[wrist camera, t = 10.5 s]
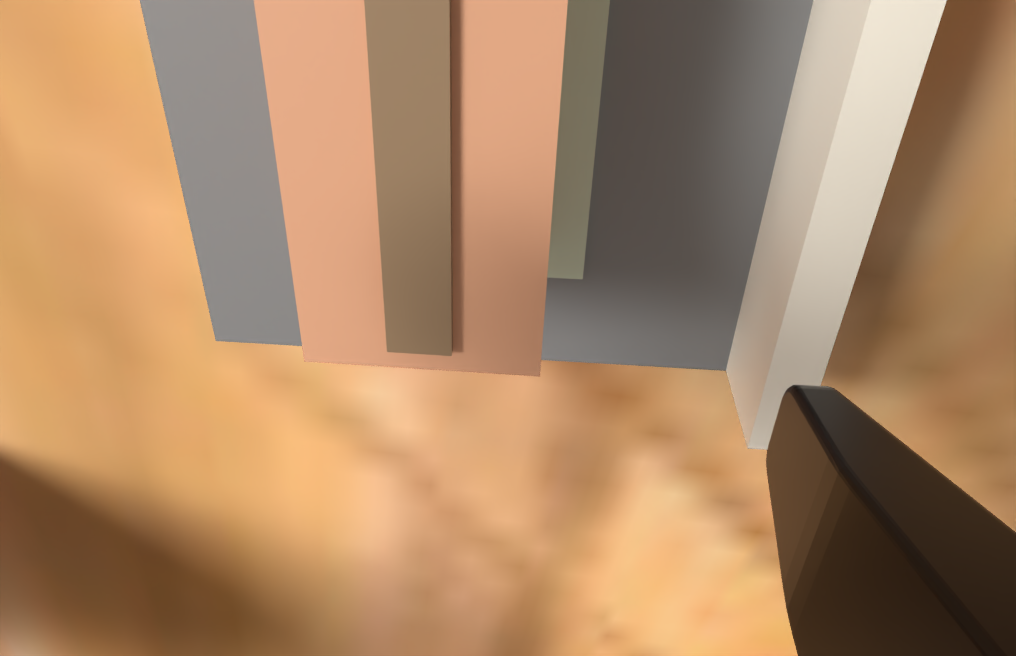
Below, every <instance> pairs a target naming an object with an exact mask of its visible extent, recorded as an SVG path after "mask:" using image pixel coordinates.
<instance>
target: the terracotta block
mask: <svg viewBox="0 0 1016 656" xmlns="http://www.w3.org/2000/svg"><path fill="white" fill-rule="evenodd" d="M567 5H568V0H254V6H255V13H256V20H257V27H258V35H259V42H260V49H261V56H262V63H263V70H264V77H265V85H266V92H267V99H268V106H269V113H270V120H271V127H272V134H273V142H274V149H275V156H276V163H277V170H278V177H279V184H280V192H281V199H282V206H283V213H284V220H285V227H286V234H287V242H288V249H289V256H290V263H291V270H292V277H293V284H294V292H295V299H296V306H297V313H298V320H299V327H300V334H301V342H302V349H303V356H304V362H320V363H336V364H351V365H367V366H383V367H399V368H414V369H430V370H446V371H461V372H477V373H493V374H509V375H524V376H540V368H541V354H542V341H543V327H544V314H545V301H546V287H547V274H548V260H549V247H550V234H551V220H552V207H553V193H554V180H555V166H556V153H557V140H558V126H559V113H560V99H561V86H562V72H563V59H564V46H565V32H566V19H567Z"/></svg>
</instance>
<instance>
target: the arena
mask: <svg viewBox="0 0 1016 656" xmlns="http://www.w3.org/2000/svg"><path fill="white" fill-rule="evenodd" d="M946 1H947V0H568V5H567V19H566V32H565V46H564V59H563V72H562V86H561V99H560V113H559V126H558V140H557V153H556V166H555V180H554V193H553V207H552V220H551V234H550V247H549V260H548V274H547V287H546V301H545V314H544V327H543V341H542V354H541V360H552V361H569V362H586V363H604V364H621V365H638V366H655V367H672V368H689V369H706V370H723V371H726V373H727V377H728V380H729V384H730V387H731V391H732V395H733V398H734V402H735V405H736V409H737V412H738V416H739V420H740V423H741V427H742V430H743V434H744V438H745V441H746V445H747V448H748V449H765V450H767V449H768V444H769V441H770V438H771V434H772V431H773V427H774V424H775V421H776V417H777V414H778V410H779V407H780V404H781V400H782V397H783V395H784V393H785V391H786V390H787V388H789V387H791V386H792V385H812V386H821V383H822V380H823V377H824V373H825V370H826V367H827V364H828V361H829V358H830V355H831V352H832V349H833V346H834V343H835V340H836V337H837V334H838V331H839V328H840V325H841V322H842V319H843V315H844V312H845V309H846V306H847V303H848V300H849V297H850V294H851V291H852V288H853V285H854V282H855V279H856V276H857V273H858V270H859V267H860V264H861V261H862V258H863V254H864V251H865V248H866V245H867V242H868V239H869V236H870V233H871V230H872V227H873V224H874V221H875V218H876V215H877V212H878V209H879V206H880V203H881V200H882V196H883V193H884V190H885V187H886V184H887V181H888V178H889V175H890V172H891V169H892V166H893V163H894V160H895V157H896V154H897V151H898V148H899V145H900V142H901V138H902V135H903V132H904V129H905V126H906V123H907V120H908V117H909V114H910V111H911V108H912V105H913V102H914V99H915V96H916V93H917V90H918V87H919V84H920V81H921V77H922V74H923V71H924V68H925V65H926V62H927V59H928V56H929V53H930V50H931V47H932V44H933V41H934V38H935V35H936V32H937V29H938V26H939V23H940V19H941V16H942V13H943V10H944V7H945V4H946ZM140 3H141V8H142V12H143V17H144V21H145V26H146V30H147V35H148V39H149V44H150V48H151V53H152V57H153V62H154V66H155V70H156V75H157V79H158V84H159V88H160V93H161V97H162V102H163V106H164V111H165V115H166V120H167V124H168V129H169V133H170V138H171V142H172V147H173V151H174V156H175V160H176V165H177V169H178V174H179V178H180V183H181V187H182V191H183V196H184V200H185V205H186V209H187V214H188V218H189V223H190V227H191V232H192V236H193V241H194V245H195V250H196V254H197V259H198V263H199V268H200V272H201V277H202V281H203V286H204V290H205V295H206V299H207V303H208V308H209V312H210V317H211V321H212V326H213V330H214V335H215V339H216V341H227V342H244V343H261V344H278V345H295V346H302V342H301V334H300V327H299V320H298V313H297V306H296V299H295V292H294V284H293V277H292V270H291V263H290V256H289V249H288V242H287V234H286V227H285V220H284V213H283V206H282V199H281V192H280V184H279V177H278V170H277V163H276V156H275V149H274V142H273V134H272V127H271V120H270V113H269V106H268V99H267V92H266V85H265V77H264V70H263V63H262V56H261V49H260V42H259V35H258V27H257V20H256V13H255V6H254V0H140Z"/></svg>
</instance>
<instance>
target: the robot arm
mask: <svg viewBox="0 0 1016 656" xmlns="http://www.w3.org/2000/svg"><path fill="white" fill-rule="evenodd" d="M766 467H767V476H768V483H769V490H770V498H771V505H772V512H773V519H774V526H775V533H776V541H777V548H778V555H779V562H780V569H781V576H782V583H783V590H784V596H785V602H786V608H787V613H788V618H789V622H790V626H791V630H792V635H793V639H794V642H795V646H796V650H797V654H798V656H1016V532H1015V531H1013V530H1012V529H1011V528H1010V527H1008V526H1007V525H1006V524H1005V523H1003V522H1002V521H1001V520H1000V519H998V518H997V517H996V516H995V515H993V514H992V513H991V512H990V511H988V510H987V509H986V508H985V507H983V506H982V505H981V504H979V503H978V502H977V501H976V500H974V499H973V498H972V497H971V496H969V495H968V494H967V493H966V492H964V491H963V490H962V489H961V488H959V487H958V486H957V485H956V484H954V483H953V482H952V481H951V480H949V479H948V478H947V477H945V476H944V475H943V474H942V473H940V472H939V471H938V470H937V469H935V468H934V467H933V466H932V465H930V464H929V463H928V462H927V461H925V460H924V459H923V458H922V457H920V456H919V455H918V454H917V453H915V452H914V451H913V450H911V449H910V448H909V447H908V446H906V445H905V444H904V443H903V442H901V441H900V440H899V439H898V438H896V437H895V436H894V435H893V434H891V433H890V432H889V431H888V430H886V429H885V428H884V427H883V426H881V425H880V424H879V423H877V422H876V421H875V420H874V419H872V418H871V417H870V416H869V415H867V414H866V413H865V412H864V411H862V410H861V409H860V408H859V407H857V406H856V405H855V404H854V403H852V402H851V401H850V400H849V399H847V398H846V397H845V396H843V395H842V394H841V393H840V392H838V391H837V390H835V389H834V388H831V387H828V386H812V385H792V386H791V387H789V388H787V390H786V391H785V393H784V395H783V397H782V400H781V404H780V407H779V410H778V414H777V417H776V421H775V424H774V427H773V431H772V434H771V438H770V441H769V444H768V449H767V458H766Z"/></svg>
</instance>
